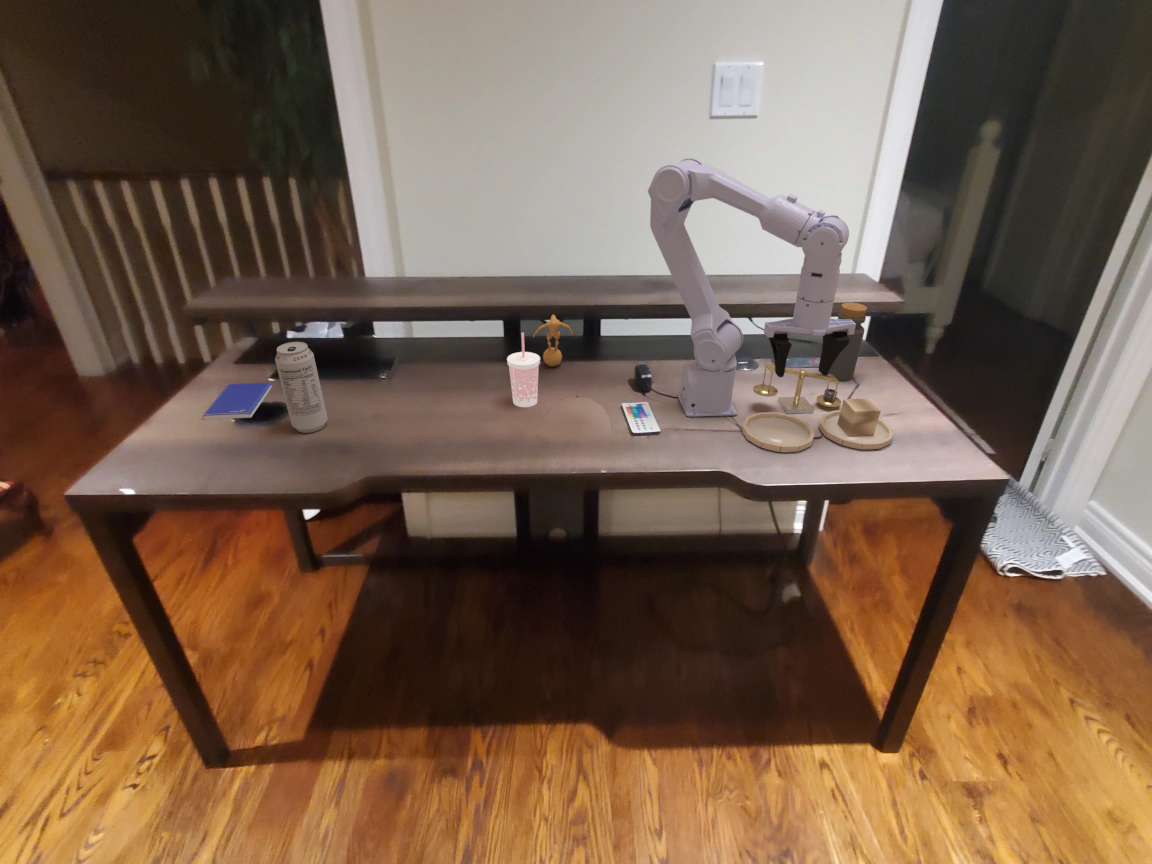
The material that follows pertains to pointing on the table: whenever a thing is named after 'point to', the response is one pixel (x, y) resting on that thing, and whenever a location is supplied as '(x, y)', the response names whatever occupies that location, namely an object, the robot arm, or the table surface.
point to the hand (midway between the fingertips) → (801, 374)
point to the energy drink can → (301, 386)
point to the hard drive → (238, 401)
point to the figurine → (553, 354)
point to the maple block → (858, 417)
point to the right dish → (864, 442)
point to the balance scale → (799, 392)
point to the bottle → (849, 354)
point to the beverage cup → (524, 376)
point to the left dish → (778, 432)
